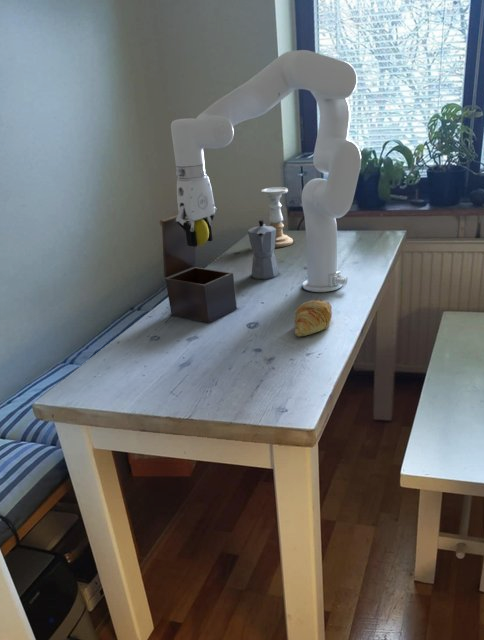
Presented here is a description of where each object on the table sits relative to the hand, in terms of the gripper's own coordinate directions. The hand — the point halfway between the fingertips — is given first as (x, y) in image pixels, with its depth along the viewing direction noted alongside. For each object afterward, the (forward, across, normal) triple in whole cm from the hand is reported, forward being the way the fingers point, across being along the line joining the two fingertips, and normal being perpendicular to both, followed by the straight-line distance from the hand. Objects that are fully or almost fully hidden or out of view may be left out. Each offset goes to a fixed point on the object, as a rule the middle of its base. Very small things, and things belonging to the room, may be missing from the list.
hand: (200, 242), depth 168 cm
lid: (+1, 0, +8) cm, 8 cm away
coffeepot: (+20, +38, +8) cm, 44 cm away
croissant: (+20, +5, -33) cm, 39 cm away
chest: (+20, 0, +2) cm, 20 cm away
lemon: (+1, 0, 0) cm, 1 cm away
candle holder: (+20, +73, +28) cm, 81 cm away
